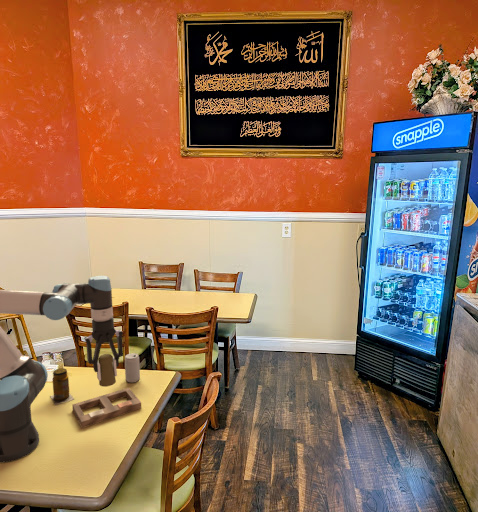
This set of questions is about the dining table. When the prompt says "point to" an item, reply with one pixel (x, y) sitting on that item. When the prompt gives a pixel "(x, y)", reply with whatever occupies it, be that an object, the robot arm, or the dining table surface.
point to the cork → (106, 370)
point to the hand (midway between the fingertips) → (107, 376)
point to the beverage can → (132, 367)
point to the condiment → (61, 387)
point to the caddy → (106, 407)
